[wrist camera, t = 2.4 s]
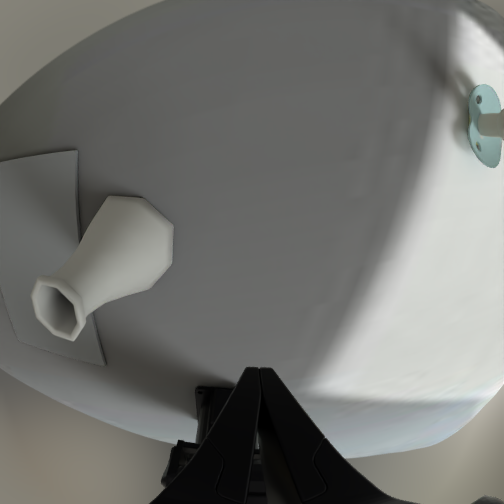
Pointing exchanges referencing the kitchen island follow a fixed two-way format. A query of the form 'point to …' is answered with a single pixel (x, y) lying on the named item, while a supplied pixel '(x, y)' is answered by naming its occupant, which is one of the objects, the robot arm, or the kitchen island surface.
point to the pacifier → (486, 125)
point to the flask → (105, 265)
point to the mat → (41, 245)
